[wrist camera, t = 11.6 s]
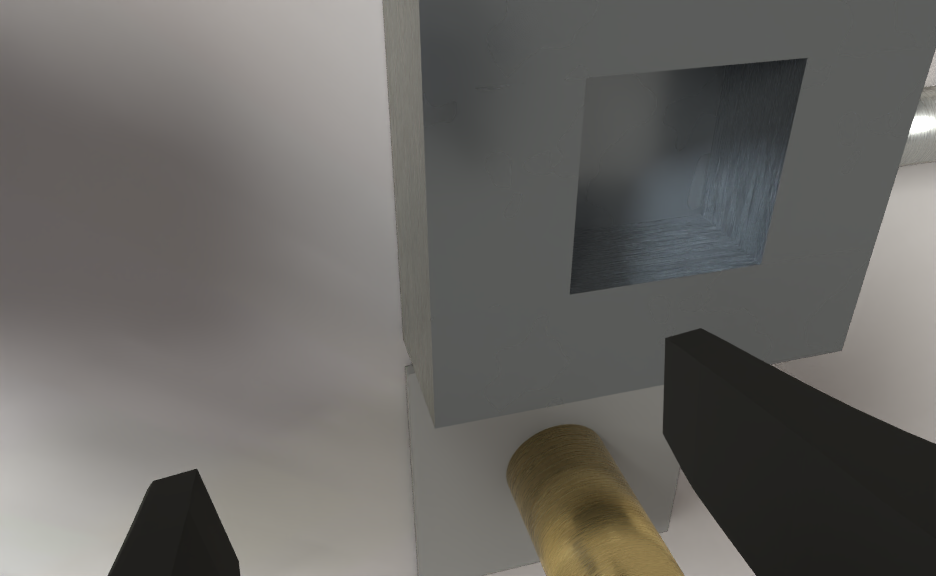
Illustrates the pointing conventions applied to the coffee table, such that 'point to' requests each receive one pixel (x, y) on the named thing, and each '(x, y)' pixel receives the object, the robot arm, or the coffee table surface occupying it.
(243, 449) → the coffee table surface
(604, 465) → the gold metal cylinder
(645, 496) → the rubber mat
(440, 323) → the chuck block
